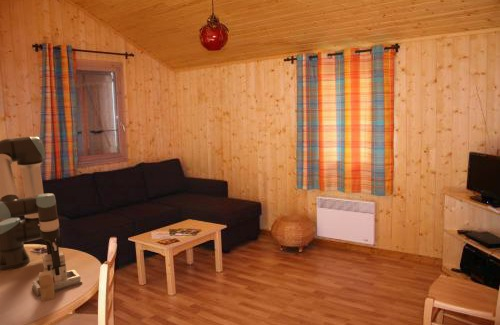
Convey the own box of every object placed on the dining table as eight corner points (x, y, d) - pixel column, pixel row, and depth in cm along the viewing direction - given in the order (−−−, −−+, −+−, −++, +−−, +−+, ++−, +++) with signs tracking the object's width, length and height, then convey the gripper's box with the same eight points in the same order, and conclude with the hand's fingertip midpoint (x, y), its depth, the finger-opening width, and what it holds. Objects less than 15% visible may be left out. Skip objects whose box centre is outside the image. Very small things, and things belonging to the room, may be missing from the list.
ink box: (46, 284, 179) (43, 258, 177) (45, 281, 183) (41, 255, 182) (68, 279, 184) (64, 253, 182) (65, 275, 188) (62, 250, 186)
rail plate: (32, 287, 183) (31, 280, 183) (74, 275, 194) (73, 268, 194) (38, 297, 174) (36, 289, 173) (82, 283, 185) (81, 276, 184)
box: (41, 301, 170) (37, 276, 168) (41, 297, 173) (38, 272, 172) (55, 298, 172) (51, 273, 170) (55, 294, 176) (52, 269, 174)
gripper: (36, 226, 185) (43, 275, 188) (44, 235, 171) (52, 288, 174) (54, 223, 189) (60, 271, 193) (64, 231, 175) (70, 283, 179)
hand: (56, 279), depth 184 cm, fingers closed on ink box, 5 cm apart
